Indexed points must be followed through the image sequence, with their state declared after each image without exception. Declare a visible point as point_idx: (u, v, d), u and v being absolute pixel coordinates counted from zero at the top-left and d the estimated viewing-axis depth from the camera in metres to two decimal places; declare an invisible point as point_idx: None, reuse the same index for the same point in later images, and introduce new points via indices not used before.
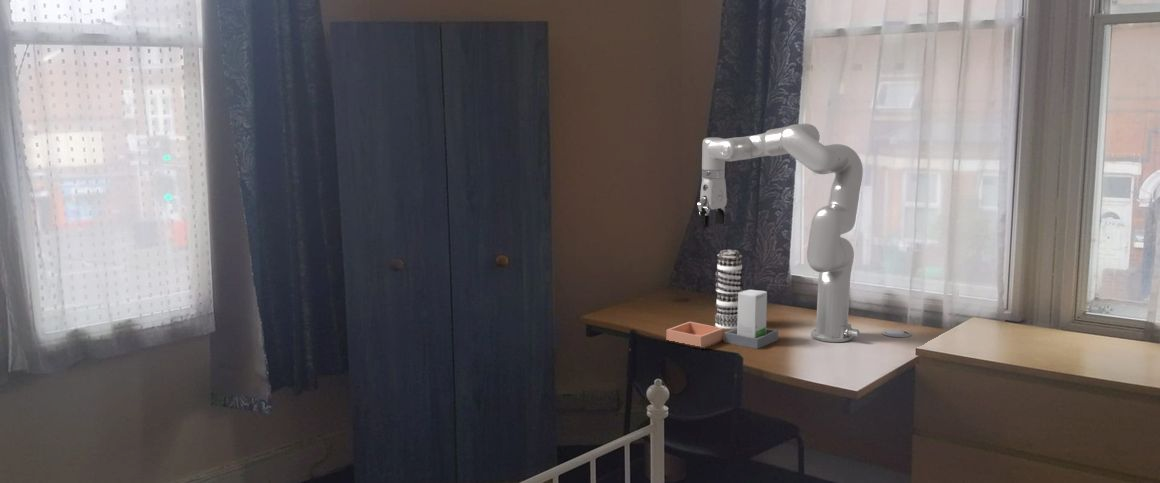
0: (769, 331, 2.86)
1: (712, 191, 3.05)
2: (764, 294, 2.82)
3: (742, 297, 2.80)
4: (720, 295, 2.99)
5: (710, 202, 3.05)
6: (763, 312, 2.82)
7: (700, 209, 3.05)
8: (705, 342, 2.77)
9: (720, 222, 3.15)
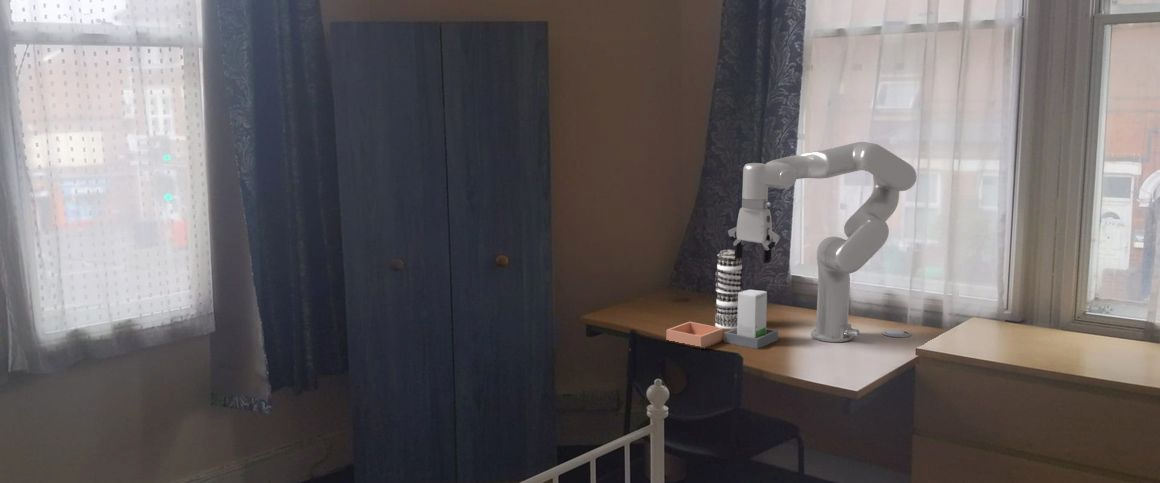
0: (769, 331, 2.86)
1: None
2: (764, 294, 2.82)
3: (742, 297, 2.80)
4: (720, 295, 2.99)
5: None
6: (763, 312, 2.82)
7: (776, 243, 2.74)
8: (705, 342, 2.77)
9: (740, 256, 2.83)
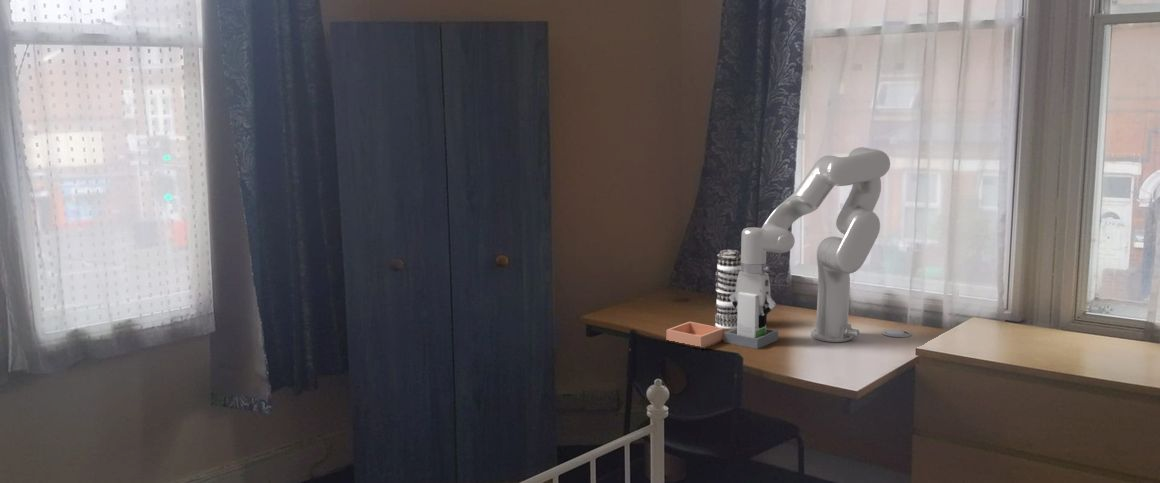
0: (769, 331, 2.86)
1: None
2: None
3: (742, 297, 2.80)
4: (720, 295, 2.99)
5: (770, 297, 2.81)
6: None
7: None
8: (705, 342, 2.77)
9: None
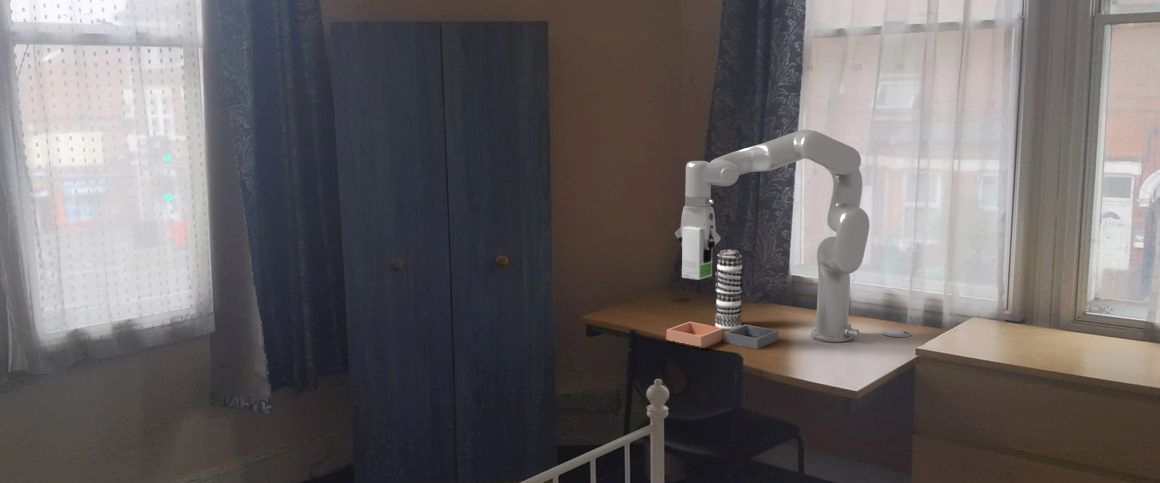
0: (769, 331, 2.86)
1: None
2: None
3: (687, 231, 2.76)
4: (720, 295, 2.99)
5: None
6: None
7: (716, 242, 2.75)
8: (705, 342, 2.77)
9: None
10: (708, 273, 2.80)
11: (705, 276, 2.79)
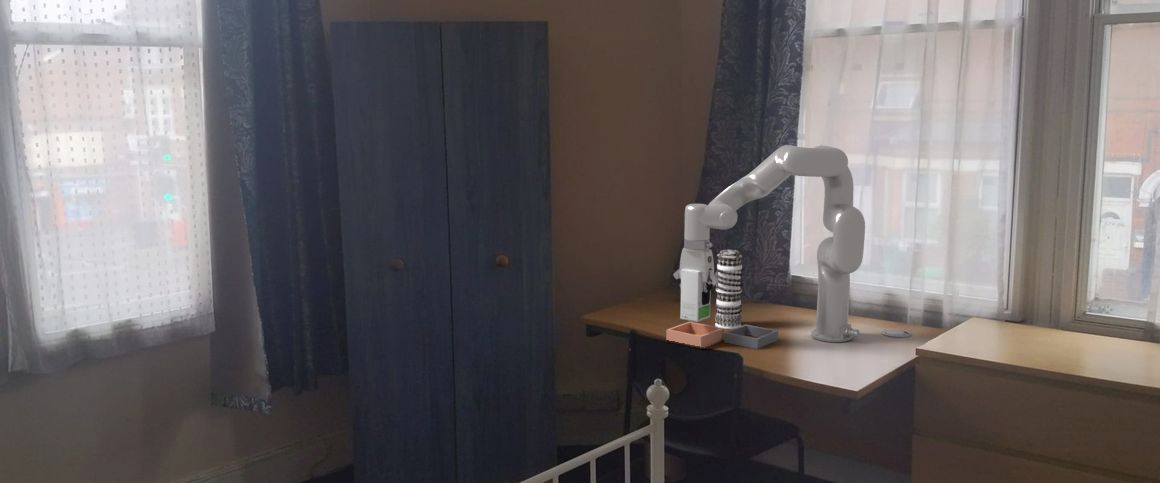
0: (769, 331, 2.86)
1: None
2: None
3: (685, 273, 2.78)
4: (720, 295, 2.99)
5: (713, 273, 2.79)
6: None
7: None
8: (705, 342, 2.77)
9: None
10: (706, 315, 2.82)
11: (703, 318, 2.81)
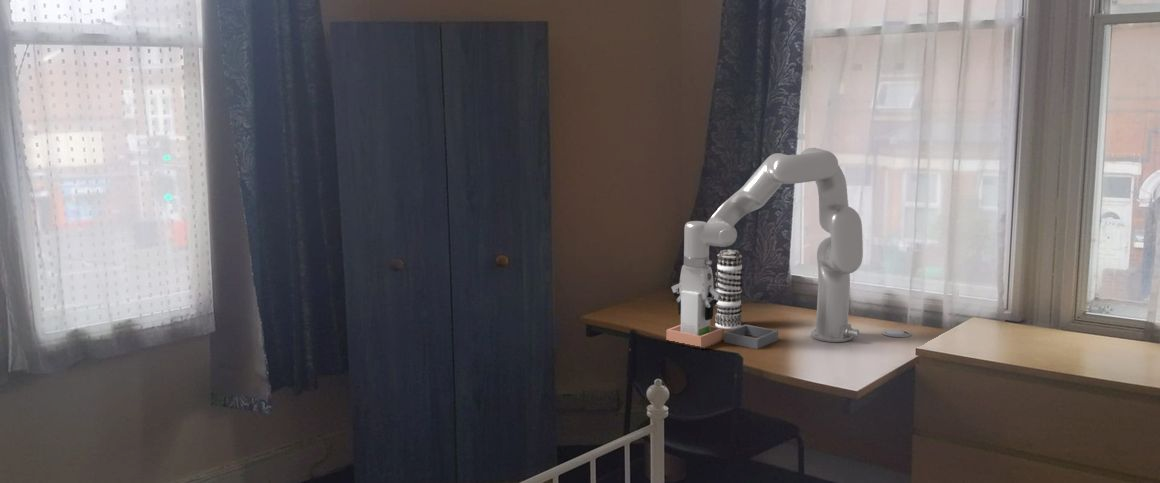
0: (769, 331, 2.86)
1: None
2: None
3: (685, 295, 2.80)
4: None
5: None
6: None
7: (717, 300, 2.77)
8: (705, 342, 2.77)
9: None
10: None
11: None
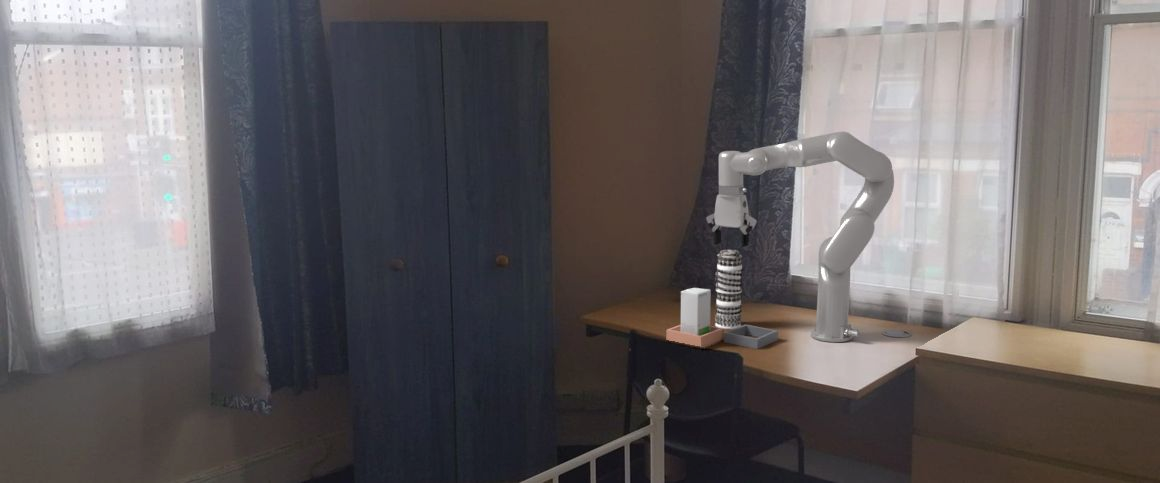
0: (769, 331, 2.86)
1: None
2: (707, 292, 2.82)
3: (685, 295, 2.80)
4: (720, 295, 2.99)
5: None
6: (707, 310, 2.82)
7: (753, 227, 2.85)
8: (705, 342, 2.77)
9: (719, 242, 2.94)
10: None
11: None
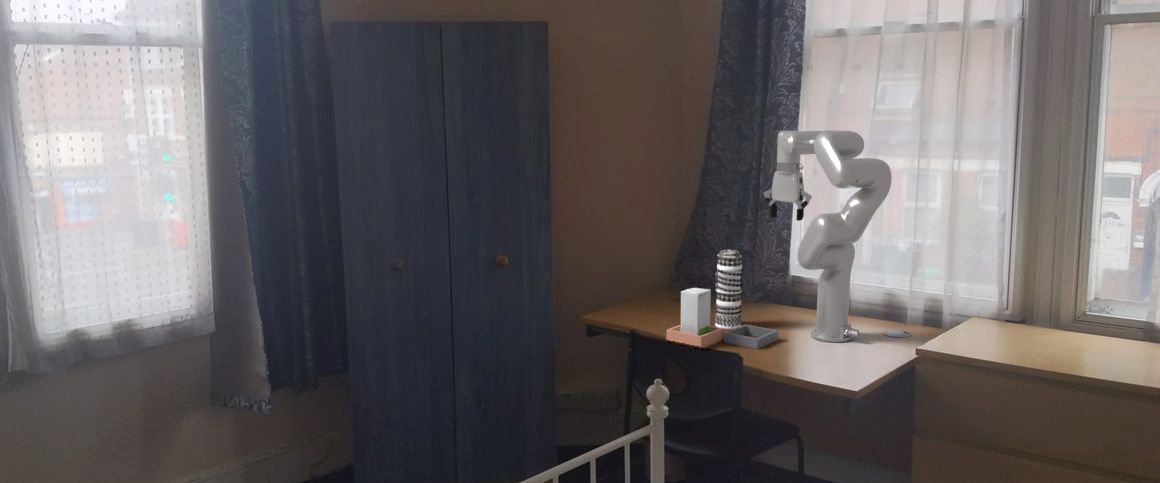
0: (769, 331, 2.86)
1: None
2: (707, 292, 2.82)
3: (685, 295, 2.80)
4: (720, 295, 2.99)
5: None
6: (707, 310, 2.82)
7: (808, 202, 3.04)
8: (705, 342, 2.77)
9: (775, 216, 3.13)
10: None
11: None
